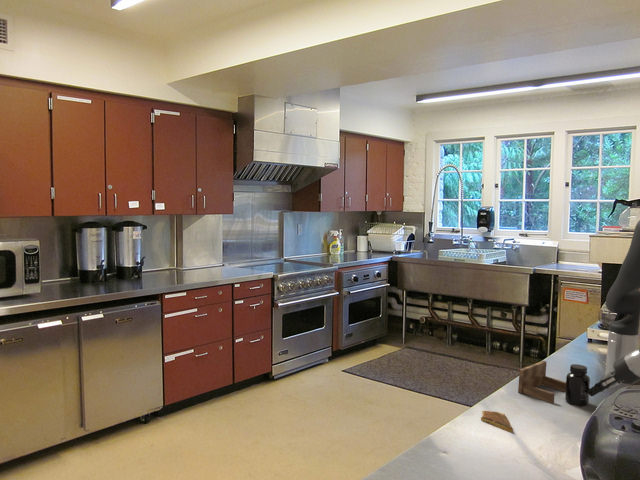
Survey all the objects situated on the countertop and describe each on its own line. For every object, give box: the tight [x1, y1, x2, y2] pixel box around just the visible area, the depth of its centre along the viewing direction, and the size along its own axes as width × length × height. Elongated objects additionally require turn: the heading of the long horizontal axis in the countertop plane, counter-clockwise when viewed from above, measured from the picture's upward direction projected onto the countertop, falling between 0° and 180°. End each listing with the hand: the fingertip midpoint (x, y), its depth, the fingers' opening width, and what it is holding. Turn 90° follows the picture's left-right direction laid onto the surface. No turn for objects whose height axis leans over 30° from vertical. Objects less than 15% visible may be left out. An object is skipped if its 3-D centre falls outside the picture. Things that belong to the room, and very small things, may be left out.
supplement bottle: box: [564, 363, 591, 407], centre depth 161 cm, size 7×7×12 cm
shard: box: [480, 410, 514, 433], centre depth 145 cm, size 11×8×2 cm
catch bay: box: [517, 360, 566, 404], centre depth 169 cm, size 16×11×8 cm
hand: (589, 393), depth 158 cm, fingers closed
